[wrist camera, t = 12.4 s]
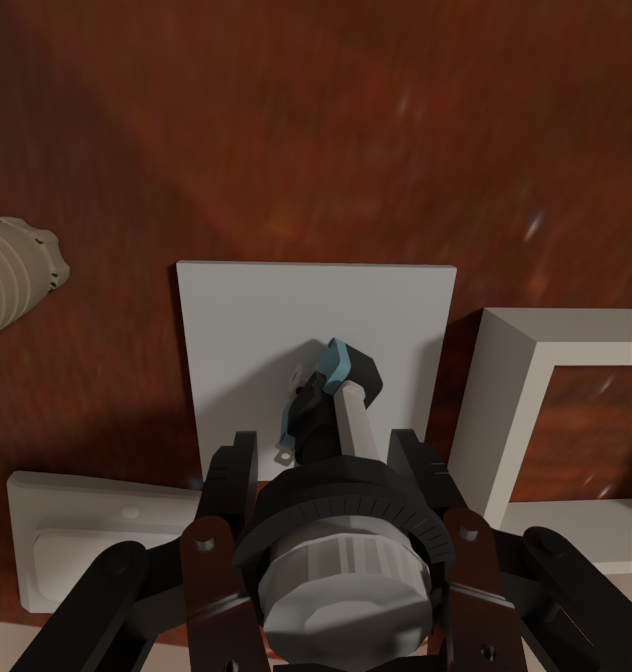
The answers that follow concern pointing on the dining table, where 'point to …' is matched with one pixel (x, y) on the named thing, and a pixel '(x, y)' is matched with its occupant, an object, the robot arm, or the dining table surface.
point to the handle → (27, 267)
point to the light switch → (84, 526)
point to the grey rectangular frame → (520, 416)
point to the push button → (340, 531)
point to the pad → (307, 342)
